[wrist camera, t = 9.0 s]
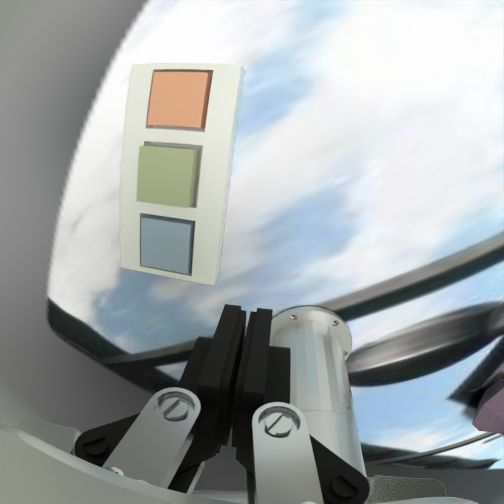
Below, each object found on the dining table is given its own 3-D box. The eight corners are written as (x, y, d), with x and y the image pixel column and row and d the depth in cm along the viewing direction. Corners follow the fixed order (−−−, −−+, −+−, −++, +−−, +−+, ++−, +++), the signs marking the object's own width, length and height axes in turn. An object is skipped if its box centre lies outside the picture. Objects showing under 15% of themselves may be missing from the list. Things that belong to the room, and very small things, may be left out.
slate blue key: (192, 266, 36) (187, 274, 34) (148, 257, 36) (141, 265, 34) (196, 219, 34) (190, 225, 32) (149, 212, 34) (141, 217, 32)
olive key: (194, 203, 31) (188, 208, 29) (145, 196, 32) (136, 201, 30) (199, 148, 29) (193, 150, 27) (148, 144, 30) (139, 145, 27)
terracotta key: (205, 128, 30) (200, 127, 28) (155, 125, 30) (147, 124, 28) (213, 76, 28) (207, 72, 25) (162, 75, 28) (154, 72, 26)
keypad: (219, 274, 37) (214, 285, 34) (131, 257, 38) (121, 267, 35) (245, 71, 28) (241, 65, 25) (143, 69, 29) (132, 64, 26)
